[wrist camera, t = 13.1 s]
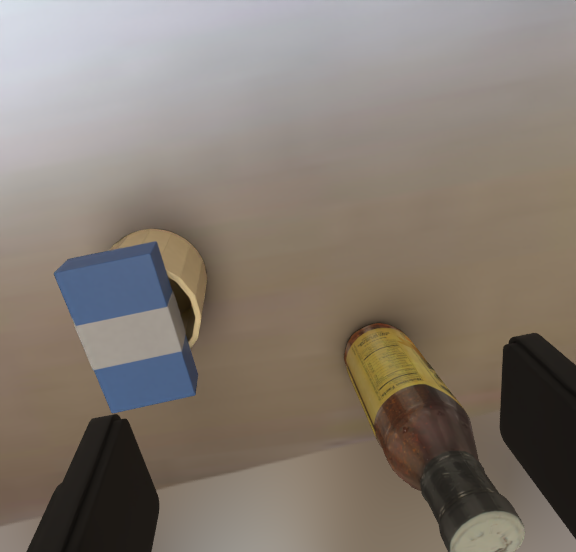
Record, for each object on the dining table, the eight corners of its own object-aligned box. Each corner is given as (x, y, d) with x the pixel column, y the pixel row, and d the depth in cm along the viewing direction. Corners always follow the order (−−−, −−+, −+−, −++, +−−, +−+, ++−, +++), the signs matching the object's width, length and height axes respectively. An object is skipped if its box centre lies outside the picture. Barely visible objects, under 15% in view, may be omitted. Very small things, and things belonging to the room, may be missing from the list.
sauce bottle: (404, 374, 42) (535, 586, 24) (340, 380, 42) (423, 601, 23) (410, 312, 40) (560, 495, 22) (341, 318, 39) (435, 510, 21)
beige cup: (90, 240, 34) (53, 276, 27) (192, 219, 35) (182, 250, 28) (123, 329, 37) (97, 382, 30) (216, 309, 38) (213, 357, 31)
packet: (66, 258, 27) (51, 273, 25) (157, 240, 27) (150, 253, 25) (119, 391, 31) (110, 414, 29) (199, 374, 31) (196, 395, 29)
